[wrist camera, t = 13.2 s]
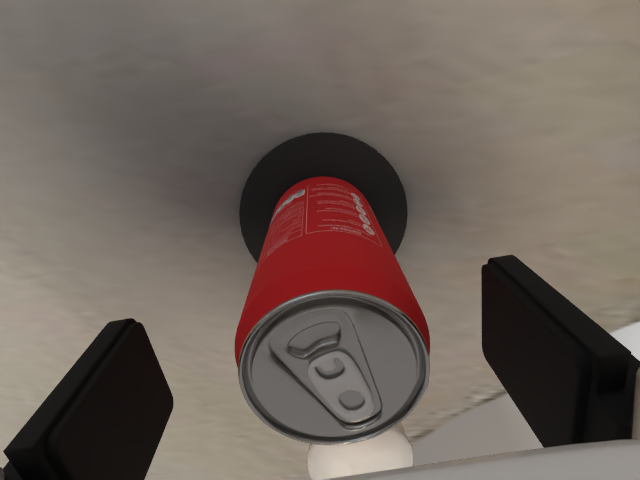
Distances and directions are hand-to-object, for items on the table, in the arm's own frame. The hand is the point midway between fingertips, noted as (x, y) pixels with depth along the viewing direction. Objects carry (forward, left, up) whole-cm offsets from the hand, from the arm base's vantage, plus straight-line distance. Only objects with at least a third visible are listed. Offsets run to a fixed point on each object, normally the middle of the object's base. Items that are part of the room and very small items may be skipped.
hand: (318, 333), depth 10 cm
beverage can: (0, 0, -11) cm, 11 cm away
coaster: (0, 0, -11) cm, 11 cm away
